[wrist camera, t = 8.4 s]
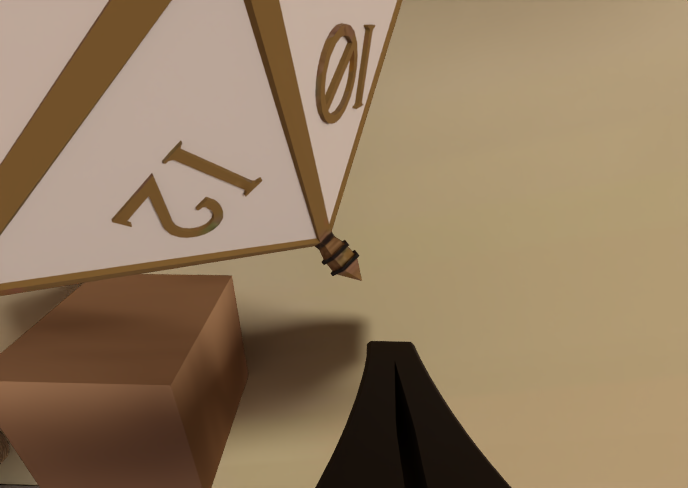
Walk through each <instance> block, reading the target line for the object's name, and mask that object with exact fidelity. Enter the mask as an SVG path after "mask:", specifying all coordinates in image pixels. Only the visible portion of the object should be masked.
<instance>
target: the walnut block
mask: <svg viewBox="0 0 688 488" xmlns="http://www.w3.org/2000/svg"><path fill="white" fill-rule="evenodd" d="M248 376H249V375H248V369H247V363H246V358H245V352H244V346H243V340H242V334H241V328H240V322H239V316H238V310H237V304H236V298H235V292H234V286H233V280H232V276H228V275H164V274H136V275H129V276H123V277H117V278H111V279H104V280H98V281H92V282H85V283H83V284H82V285H81V286H80V287H79V288H78V289H76V290H75V291H74V292H73V293H72V294H70V295H69V296H68V297H67V298H66V299H65V300H63V301H62V302H61V303H60V304H59V305H57V306H56V307H55V308H54V309H53V310H52V311H50V312H49V313H48V314H47V315H46V316H45V317H43V318H42V319H41V320H40V321H39V322H37V323H36V324H35V325H34V326H33V327H32V328H30V329H29V330H28V331H27V332H26V333H24V334H23V335H22V336H21V337H20V338H19V339H17V340H16V341H15V342H14V343H13V344H12V345H10V346H9V347H8V348H7V349H6V350H4V351H3V352H2V353H1V354H0V428H1V430H2V431H3V433H4V434H5V436H6V437H7V439H8V440H9V442H10V443H11V445H12V446H13V448H14V449H15V451H16V452H17V454H18V455H19V457H20V458H21V460H22V461H23V463H24V464H25V466H26V467H27V469H28V470H29V472H30V473H31V475H32V476H33V478H34V479H35V481H36V482H37V484H38V485H39V487H40V488H211V487H212V484H213V481H214V478H215V475H216V472H217V469H218V466H219V463H220V460H221V457H222V454H223V451H224V448H225V445H226V442H227V439H228V436H229V433H230V430H231V427H232V424H233V421H234V418H235V415H236V412H237V409H238V406H239V403H240V400H241V397H242V394H243V391H244V388H245V385H246V382H247V379H248Z"/></svg>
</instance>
